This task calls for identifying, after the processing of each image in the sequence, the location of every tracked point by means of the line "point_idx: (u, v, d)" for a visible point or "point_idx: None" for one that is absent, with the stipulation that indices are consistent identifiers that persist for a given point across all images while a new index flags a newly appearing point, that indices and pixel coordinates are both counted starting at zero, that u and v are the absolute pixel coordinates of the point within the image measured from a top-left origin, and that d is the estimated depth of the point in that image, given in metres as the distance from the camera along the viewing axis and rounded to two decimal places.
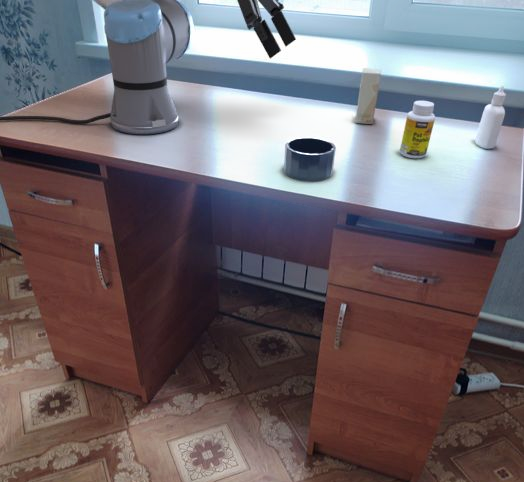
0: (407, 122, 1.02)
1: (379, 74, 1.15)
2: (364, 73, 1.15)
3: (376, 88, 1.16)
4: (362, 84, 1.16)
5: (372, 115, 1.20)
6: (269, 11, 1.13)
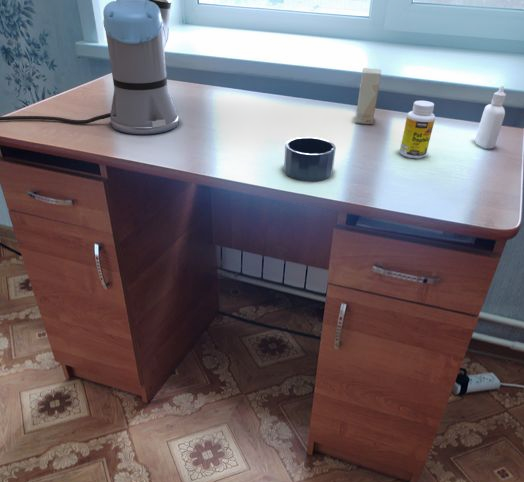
0: (407, 122, 1.02)
1: (379, 74, 1.15)
2: (364, 73, 1.15)
3: (376, 88, 1.16)
4: (362, 84, 1.16)
5: (372, 115, 1.20)
6: None
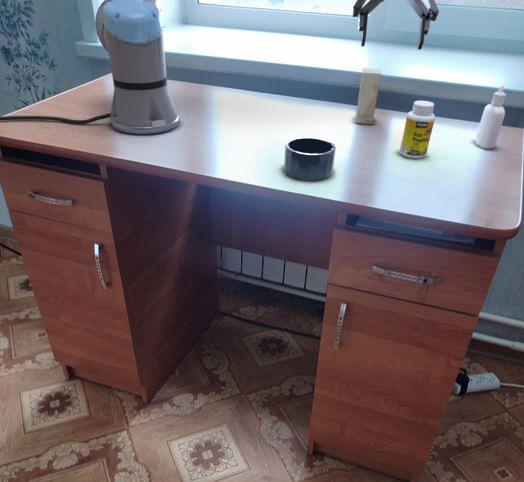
0: (407, 122, 1.02)
1: (379, 74, 1.15)
2: (364, 73, 1.15)
3: (376, 88, 1.16)
4: (362, 84, 1.16)
5: (372, 115, 1.20)
6: (368, 9, 1.21)
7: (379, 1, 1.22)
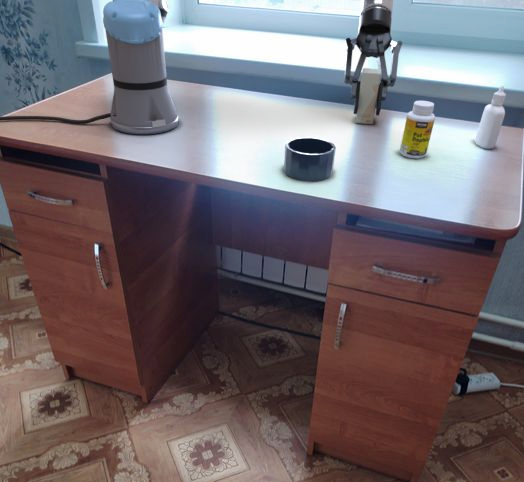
0: (407, 122, 1.02)
1: (379, 74, 1.15)
2: (364, 73, 1.15)
3: (376, 88, 1.16)
4: (362, 84, 1.16)
5: (372, 115, 1.20)
6: (359, 74, 1.19)
7: (363, 62, 1.20)
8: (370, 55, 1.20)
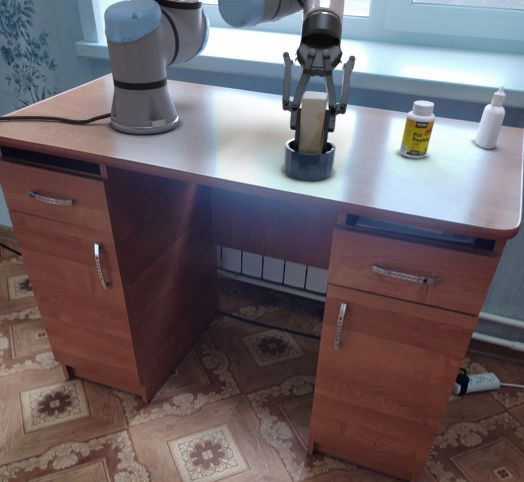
0: (407, 122, 1.02)
1: (324, 100, 0.88)
2: (304, 98, 0.88)
3: (321, 117, 0.90)
4: (303, 112, 0.90)
5: (318, 151, 0.93)
6: (300, 99, 0.92)
7: (307, 83, 0.93)
8: (315, 74, 0.93)
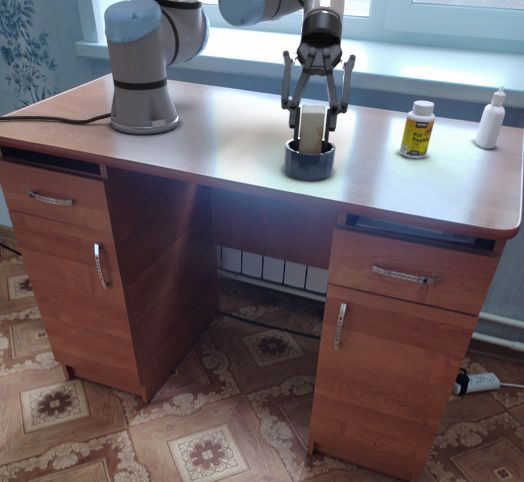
0: (407, 122, 1.02)
1: (323, 114, 0.90)
2: (304, 113, 0.90)
3: (320, 131, 0.91)
4: (302, 126, 0.91)
5: None
6: (299, 98, 0.92)
7: (306, 82, 0.93)
8: (315, 73, 0.93)
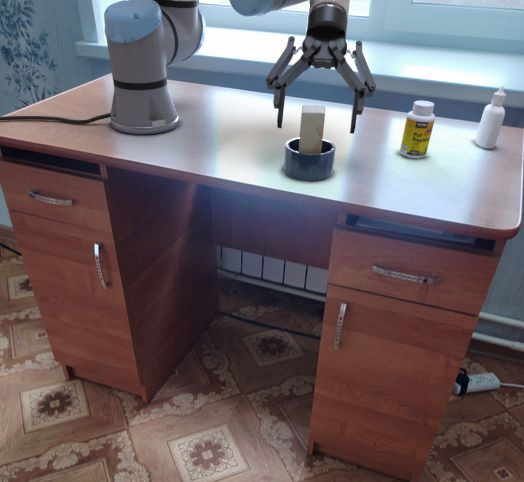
0: (407, 122, 1.02)
1: (323, 114, 0.90)
2: (304, 113, 0.90)
3: (320, 131, 0.91)
4: (302, 126, 0.91)
5: None
6: (285, 81, 0.93)
7: (301, 70, 0.94)
8: (320, 66, 0.94)
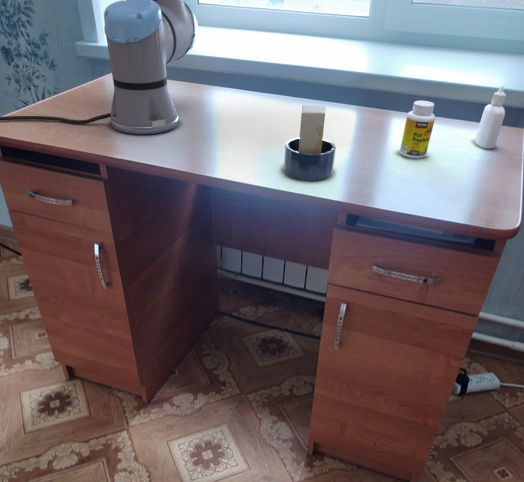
0: (407, 122, 1.02)
1: (323, 114, 0.90)
2: (304, 113, 0.90)
3: (320, 131, 0.91)
4: (302, 126, 0.91)
5: None
6: None
7: None
8: None
